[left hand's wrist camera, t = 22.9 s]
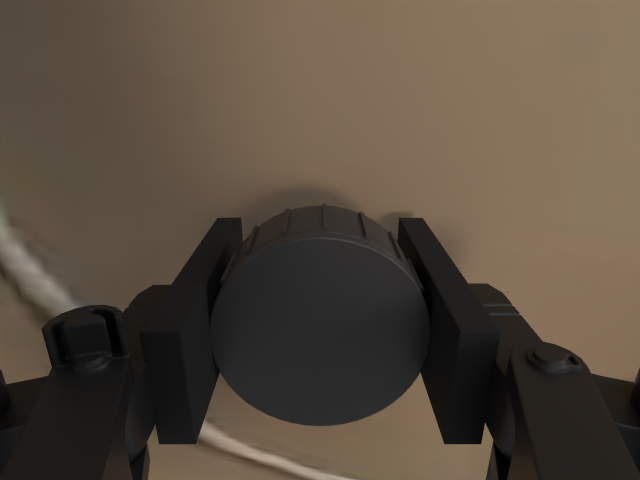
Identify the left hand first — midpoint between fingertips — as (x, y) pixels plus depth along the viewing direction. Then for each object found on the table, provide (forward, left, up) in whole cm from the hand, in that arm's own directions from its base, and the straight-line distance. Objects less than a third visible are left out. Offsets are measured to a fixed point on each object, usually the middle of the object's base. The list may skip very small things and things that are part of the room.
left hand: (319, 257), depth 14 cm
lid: (0, 0, +4) cm, 4 cm away
